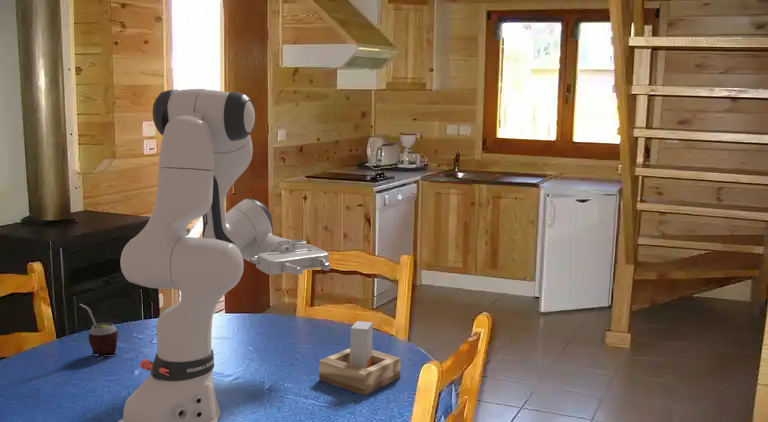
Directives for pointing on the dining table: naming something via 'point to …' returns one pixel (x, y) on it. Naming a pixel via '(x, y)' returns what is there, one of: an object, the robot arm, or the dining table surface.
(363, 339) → the skincare box
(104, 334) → the mate gourd
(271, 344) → the dining table surface
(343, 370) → the socket block
